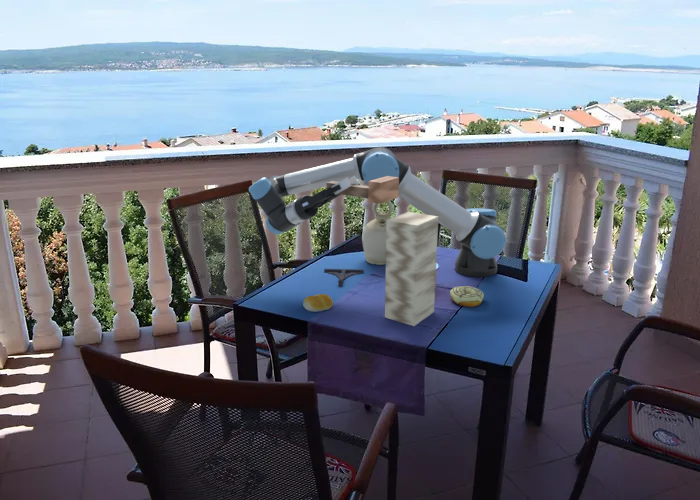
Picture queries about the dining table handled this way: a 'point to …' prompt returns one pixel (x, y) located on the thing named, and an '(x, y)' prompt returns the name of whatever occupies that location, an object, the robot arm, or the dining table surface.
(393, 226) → the stand
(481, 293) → the decorated donut
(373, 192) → the wooden mallet
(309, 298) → the bread roll
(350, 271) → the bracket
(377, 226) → the jug
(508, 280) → the dining table surface
